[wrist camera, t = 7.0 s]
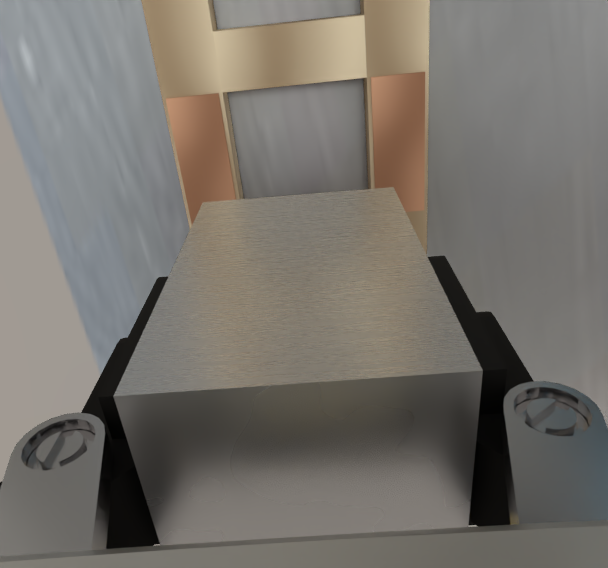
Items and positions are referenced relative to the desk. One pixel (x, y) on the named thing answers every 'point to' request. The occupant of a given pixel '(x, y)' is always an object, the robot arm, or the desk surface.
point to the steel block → (302, 377)
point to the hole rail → (294, 71)
